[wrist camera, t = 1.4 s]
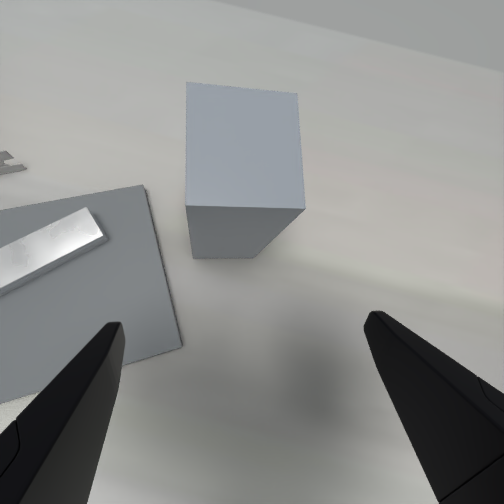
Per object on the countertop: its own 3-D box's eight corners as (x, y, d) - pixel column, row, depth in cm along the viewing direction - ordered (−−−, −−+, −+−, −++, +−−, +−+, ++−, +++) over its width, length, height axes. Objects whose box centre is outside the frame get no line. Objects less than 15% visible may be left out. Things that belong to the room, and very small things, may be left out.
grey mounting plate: (182, 345, 22) (180, 350, 19) (-103, 433, 18) (-151, 453, 16) (145, 189, 24) (138, 176, 21) (-122, 239, 20) (-167, 229, 17)
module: (253, 258, 24) (305, 208, 12) (193, 258, 23) (185, 205, 11) (250, 187, 25) (296, 78, 13) (193, 185, 24) (186, 65, 12)
